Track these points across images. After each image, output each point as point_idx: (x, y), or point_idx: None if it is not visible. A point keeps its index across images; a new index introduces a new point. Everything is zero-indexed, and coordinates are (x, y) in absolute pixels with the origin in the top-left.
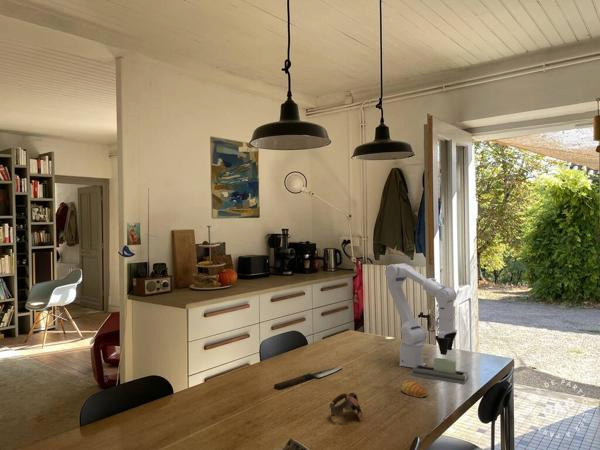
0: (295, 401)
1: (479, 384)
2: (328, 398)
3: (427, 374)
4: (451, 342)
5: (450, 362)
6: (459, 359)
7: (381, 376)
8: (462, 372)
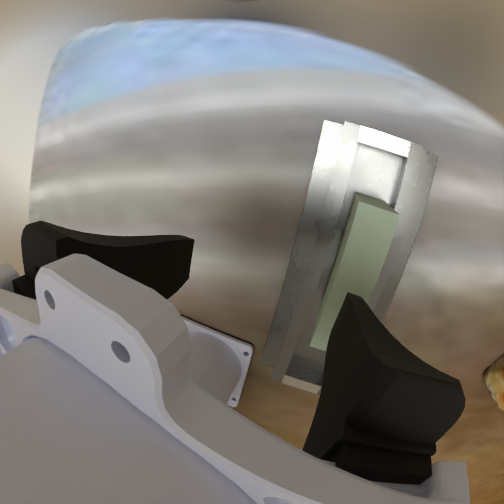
0: (480, 496)
1: (408, 79)
2: (486, 478)
3: None
4: (147, 255)
5: (389, 243)
6: (84, 179)
7: None
8: (352, 151)
